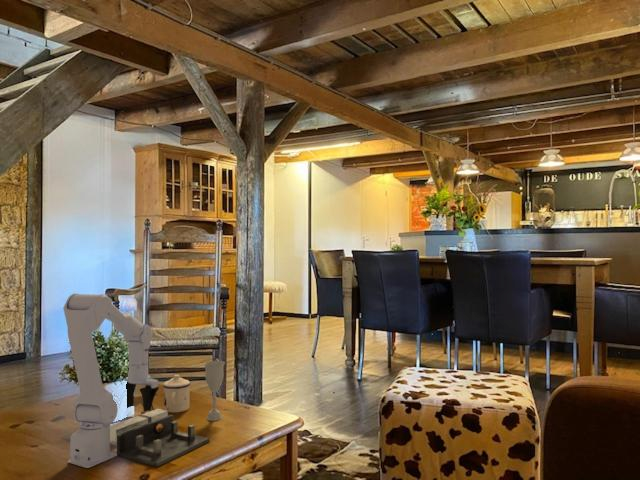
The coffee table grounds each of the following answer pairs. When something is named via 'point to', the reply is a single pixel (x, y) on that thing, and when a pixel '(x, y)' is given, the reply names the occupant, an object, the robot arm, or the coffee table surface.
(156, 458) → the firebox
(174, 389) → the teacup with lid
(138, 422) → the cream rectangular block
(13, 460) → the coffee table surface
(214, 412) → the chalice
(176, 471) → the coffee table surface
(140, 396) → the lion figurine
